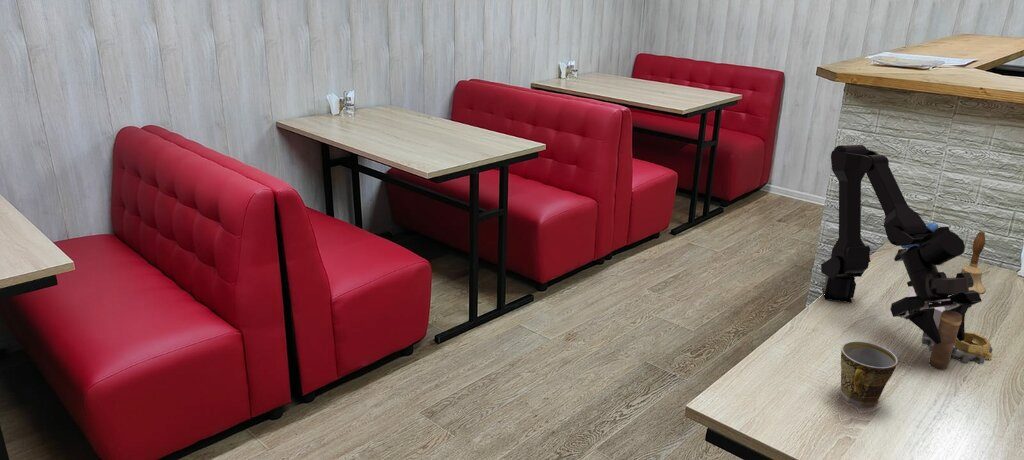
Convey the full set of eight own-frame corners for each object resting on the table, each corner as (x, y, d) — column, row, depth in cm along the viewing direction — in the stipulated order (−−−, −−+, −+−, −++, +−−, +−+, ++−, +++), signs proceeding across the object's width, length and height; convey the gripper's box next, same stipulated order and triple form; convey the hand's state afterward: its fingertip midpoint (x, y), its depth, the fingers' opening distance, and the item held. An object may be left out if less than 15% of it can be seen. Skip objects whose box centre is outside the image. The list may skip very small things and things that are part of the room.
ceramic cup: (840, 377, 148) (850, 335, 144) (892, 396, 142) (903, 352, 139) (820, 405, 139) (830, 361, 135) (875, 426, 133) (887, 381, 129)
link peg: (930, 368, 152) (944, 316, 148) (926, 359, 156) (940, 308, 151) (950, 371, 151) (965, 319, 147) (945, 362, 155) (959, 311, 150)
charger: (953, 308, 180) (939, 329, 169) (913, 296, 185) (897, 316, 175) (958, 291, 178) (944, 311, 167) (917, 280, 184) (902, 299, 173)
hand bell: (954, 291, 189) (969, 235, 183) (946, 278, 196) (961, 224, 190) (989, 296, 186) (1006, 239, 181) (980, 283, 194) (996, 228, 188)
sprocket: (929, 357, 157) (933, 344, 155) (915, 328, 169) (918, 316, 168) (1000, 368, 153) (1004, 355, 152) (980, 337, 165) (984, 325, 164)
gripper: (913, 262, 146) (941, 336, 141) (986, 256, 151) (1017, 327, 145) (877, 281, 156) (903, 350, 151) (947, 274, 161) (975, 341, 155)
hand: (950, 342), depth 150 cm, fingers open, 6 cm apart
